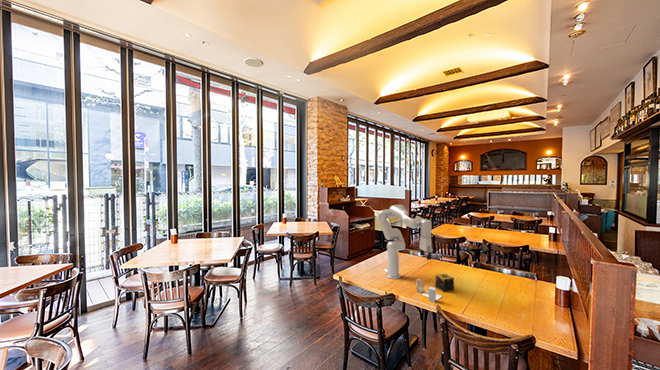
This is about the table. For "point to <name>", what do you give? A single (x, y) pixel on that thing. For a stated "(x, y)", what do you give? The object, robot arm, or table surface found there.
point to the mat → (428, 295)
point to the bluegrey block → (432, 294)
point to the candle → (444, 282)
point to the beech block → (419, 285)
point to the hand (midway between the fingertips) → (425, 257)
